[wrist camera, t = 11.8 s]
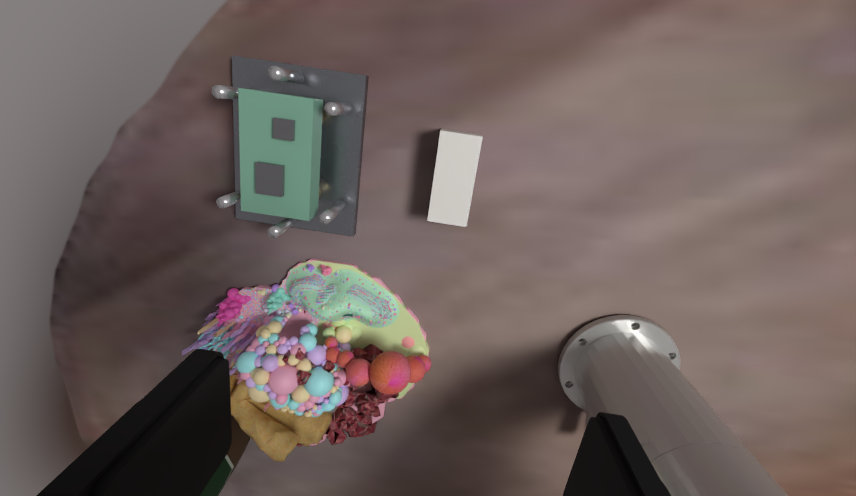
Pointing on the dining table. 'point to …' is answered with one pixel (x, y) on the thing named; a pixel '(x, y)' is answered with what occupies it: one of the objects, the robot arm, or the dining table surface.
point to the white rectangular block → (454, 177)
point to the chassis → (337, 141)
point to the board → (279, 153)
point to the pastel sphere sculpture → (315, 354)
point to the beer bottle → (228, 460)
